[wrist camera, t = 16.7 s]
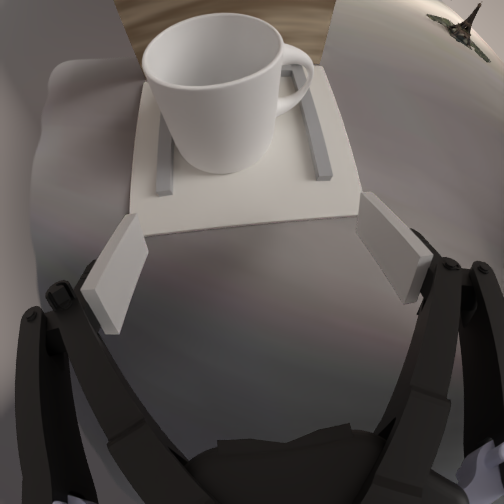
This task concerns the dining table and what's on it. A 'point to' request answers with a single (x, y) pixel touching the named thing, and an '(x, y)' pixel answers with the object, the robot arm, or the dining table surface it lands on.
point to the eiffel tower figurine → (462, 31)
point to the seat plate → (249, 169)
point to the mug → (221, 87)
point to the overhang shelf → (248, 3)
